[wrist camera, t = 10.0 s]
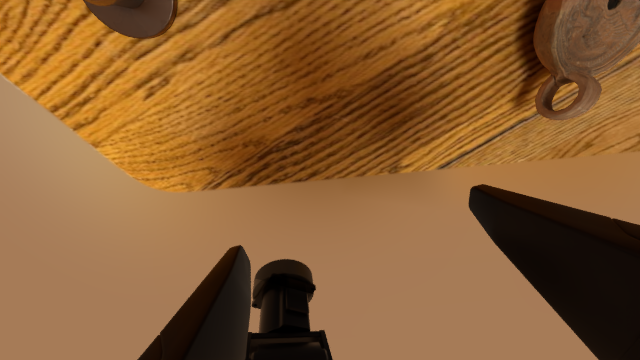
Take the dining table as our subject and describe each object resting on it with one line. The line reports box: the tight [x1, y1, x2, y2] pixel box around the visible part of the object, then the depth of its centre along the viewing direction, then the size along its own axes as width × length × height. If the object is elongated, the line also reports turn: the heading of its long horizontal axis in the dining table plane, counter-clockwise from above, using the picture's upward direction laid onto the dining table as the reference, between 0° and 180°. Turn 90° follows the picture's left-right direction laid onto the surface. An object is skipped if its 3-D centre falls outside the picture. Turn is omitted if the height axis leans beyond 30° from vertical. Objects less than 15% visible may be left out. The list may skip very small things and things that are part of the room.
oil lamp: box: [533, 0, 640, 120], centre depth 16 cm, size 13×8×5 cm, turn 167°
